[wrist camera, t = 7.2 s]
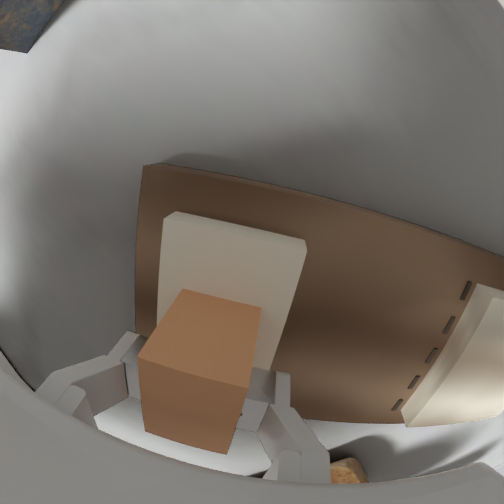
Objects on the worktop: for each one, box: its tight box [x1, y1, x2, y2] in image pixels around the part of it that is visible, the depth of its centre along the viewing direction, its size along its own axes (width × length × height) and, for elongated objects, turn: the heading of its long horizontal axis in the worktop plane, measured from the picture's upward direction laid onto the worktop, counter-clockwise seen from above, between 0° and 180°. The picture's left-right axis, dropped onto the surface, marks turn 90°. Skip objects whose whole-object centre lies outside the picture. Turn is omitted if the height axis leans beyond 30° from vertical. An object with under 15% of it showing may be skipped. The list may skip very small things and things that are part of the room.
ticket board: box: [135, 163, 504, 427], centre depth 12 cm, size 12×26×3 cm, turn 78°
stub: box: [137, 211, 307, 455], centre depth 10 cm, size 9×5×5 cm, turn 168°
